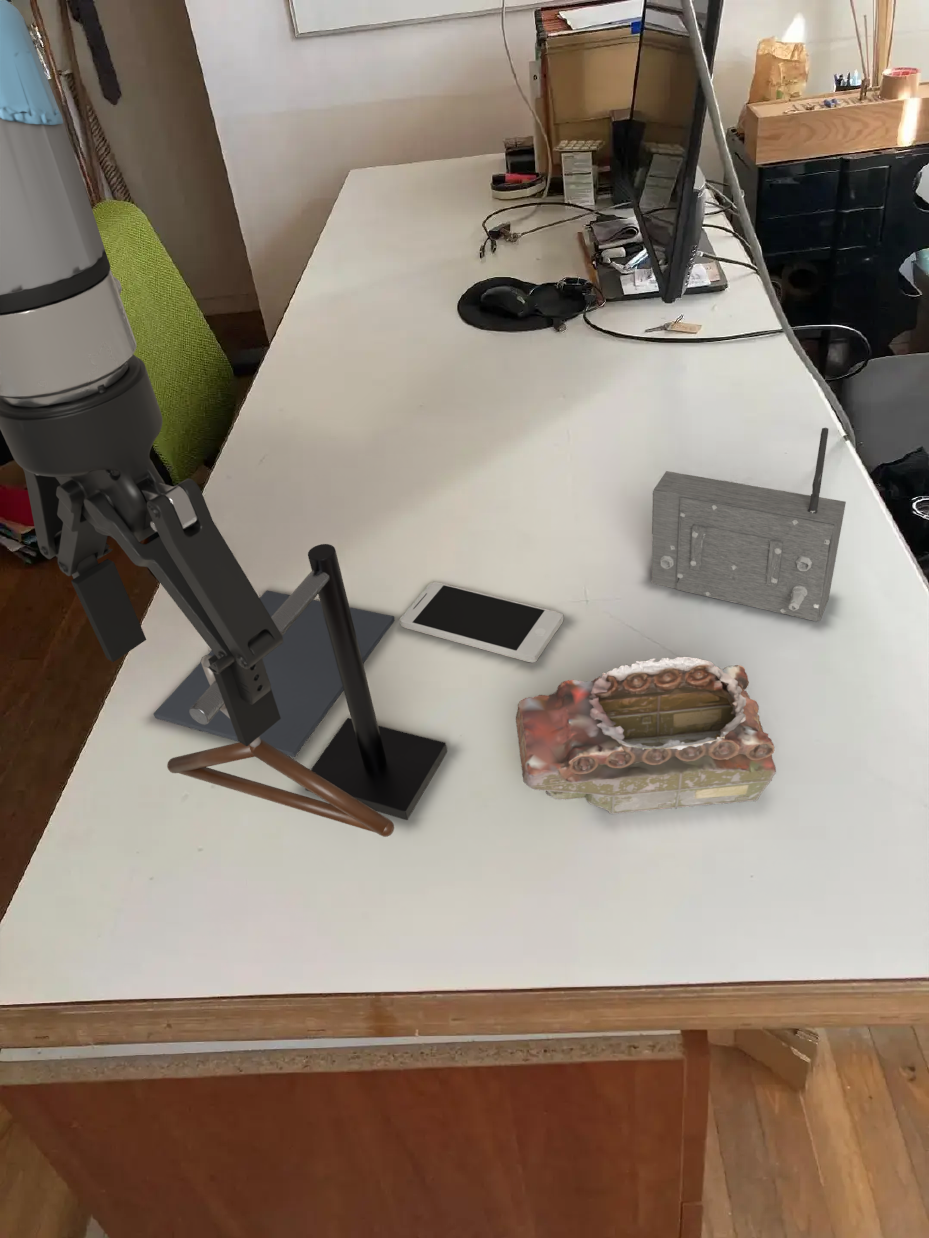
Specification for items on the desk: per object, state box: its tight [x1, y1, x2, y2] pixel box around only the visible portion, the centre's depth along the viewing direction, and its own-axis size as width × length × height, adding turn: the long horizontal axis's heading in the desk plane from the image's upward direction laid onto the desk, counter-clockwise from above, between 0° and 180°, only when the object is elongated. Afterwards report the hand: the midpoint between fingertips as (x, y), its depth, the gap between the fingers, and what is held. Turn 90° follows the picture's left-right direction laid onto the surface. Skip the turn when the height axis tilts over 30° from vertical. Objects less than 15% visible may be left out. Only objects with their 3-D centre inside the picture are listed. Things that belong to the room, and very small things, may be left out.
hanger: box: [166, 654, 395, 838], centre depth 62 cm, size 19×1×14 cm, turn 66°
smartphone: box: [399, 581, 564, 663], centre depth 95 cm, size 7×15×1 cm, turn 62°
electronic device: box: [650, 427, 847, 622], centre depth 88 cm, size 17×7×20 cm, turn 61°
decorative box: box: [515, 656, 777, 815], centre depth 73 cm, size 13×20×10 cm, turn 86°
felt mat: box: [153, 590, 396, 758], centre depth 93 cm, size 16×20×1 cm
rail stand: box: [189, 543, 448, 821], centre depth 70 cm, size 20×10×24 cm, turn 156°
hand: (189, 687), depth 59 cm, fingers open, 13 cm apart
